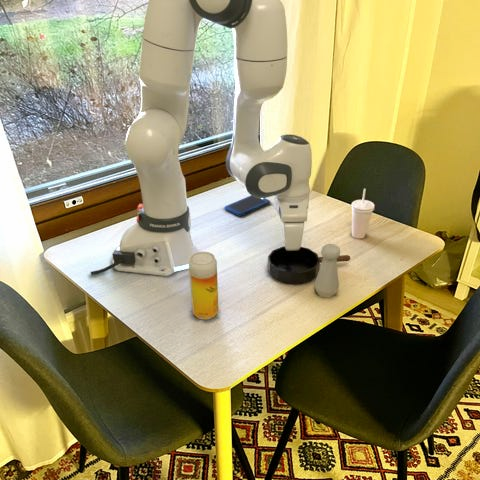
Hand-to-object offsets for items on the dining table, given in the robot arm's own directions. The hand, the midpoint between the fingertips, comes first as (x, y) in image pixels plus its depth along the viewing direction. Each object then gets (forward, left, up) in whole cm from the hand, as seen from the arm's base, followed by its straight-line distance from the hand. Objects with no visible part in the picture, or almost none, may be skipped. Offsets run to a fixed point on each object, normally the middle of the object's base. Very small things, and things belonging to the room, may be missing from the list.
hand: (288, 248), depth 140 cm
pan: (+5, -7, -2) cm, 9 cm away
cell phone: (-11, +30, -2) cm, 32 cm away
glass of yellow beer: (-21, -26, -2) cm, 34 cm away
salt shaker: (+8, -18, -2) cm, 20 cm away
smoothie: (+21, +11, -2) cm, 24 cm away
